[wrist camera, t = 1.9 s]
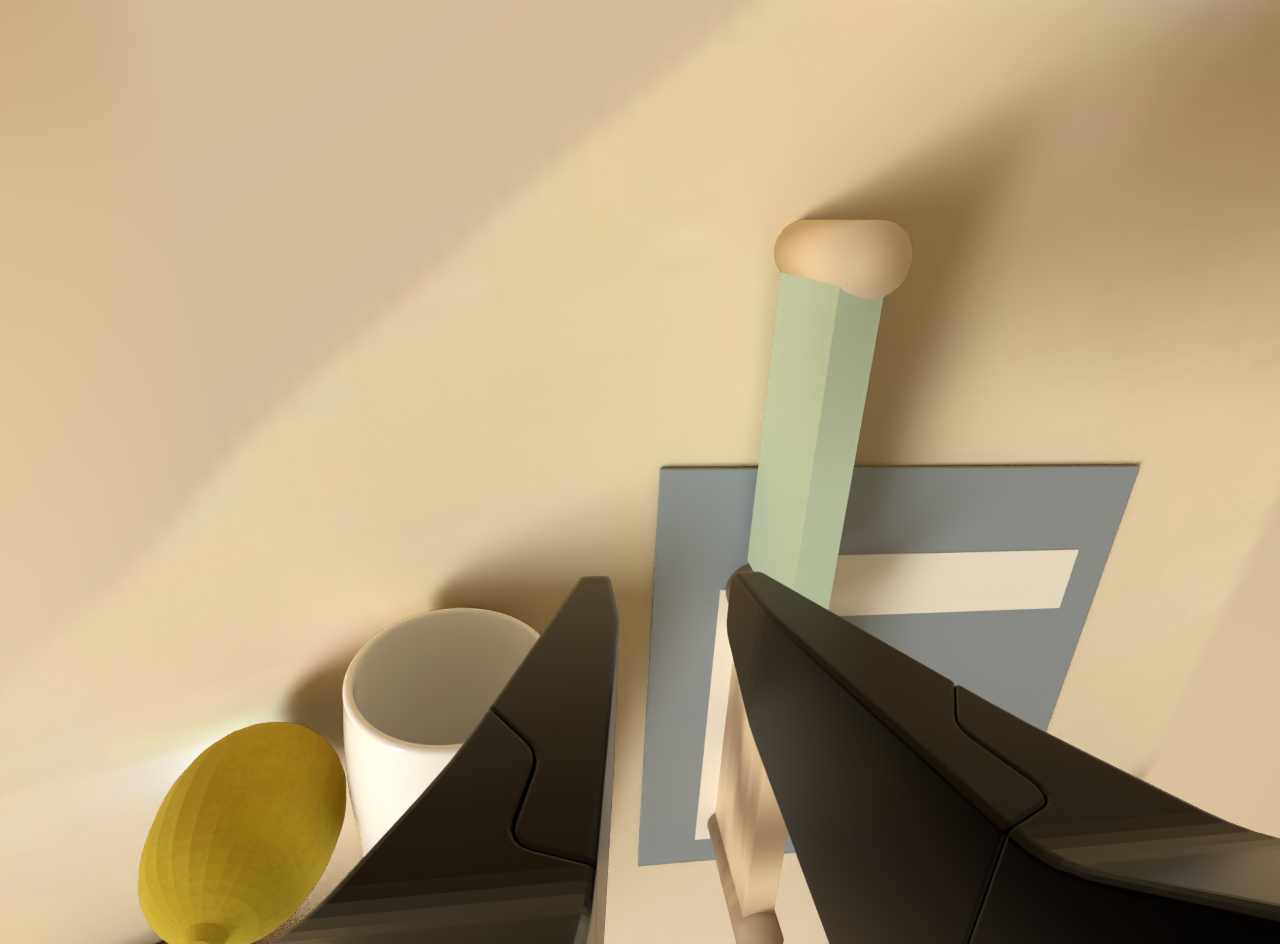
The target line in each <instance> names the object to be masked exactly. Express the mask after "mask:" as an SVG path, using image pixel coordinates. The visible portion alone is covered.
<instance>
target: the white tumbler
mask: <svg viewBox="0 0 1280 944" xmlns="http://www.w3.org/2000/svg"><path fill="white" fill-rule="evenodd" d="M539 636H540V634H539V633H538V632H537V631H535V630H534V629H533V628H532V627H530V626H529V625H527V624H526V623H524V622H522V621H520V620H518V619H516V618H514V617H511V616H509V615H506V614H503V613H500V612H495V611H491V610H485V609H477V608H448V609H440V610H435V611H429V612H425V613H421V614H418V615H415V616H412V617H409V618H406V619H404V620H402V621H399V622H397V623H395V624H393V625H391V626H390V627H388V628H386V629H384V630H383V631H381V632H380V633H378V634H377V635H376V636H374V637H373V638H372V639H371V640H369V641H368V642H367V643H366V644H365V645H364V646H363V647H362V648H361V649H360V650H359V652H358V653H357V654H356V656H355V657H354V658H353V660H352V662H351V663H350V665H349V667H348V670H347V672H346V675H345V678H344V683H343V692H342V697H343V735H344V751H345V762H346V771H347V779H348V787H349V793H350V799H351V804H352V809H353V814H354V818H355V823H356V827H357V831H358V835H359V839H360V844H361V848H362V852H363V856H365V855H366V854H367V853H368V852H369V851H370V850H371V849H372V847H373V846H374V845H375V844H376V843H377V842H378V841H379V840H380V839H381V838H382V837H383V835H384V834H385V833H386V832H387V831H388V830H389V829H390V828H391V827H392V826H393V825H394V823H395V822H396V821H397V820H398V819H399V818H400V817H401V816H402V815H403V814H404V813H405V811H406V810H407V809H408V808H409V807H410V806H411V805H412V804H413V803H414V802H415V801H416V799H417V798H418V797H419V796H420V795H421V794H422V793H423V792H424V790H425V789H426V788H427V787H428V786H429V785H430V783H431V782H432V781H433V780H434V779H435V778H436V777H437V775H438V774H439V773H440V772H441V771H442V770H443V769H444V767H445V766H446V765H447V764H448V763H449V762H450V760H451V759H452V758H453V756H454V755H455V754H456V752H457V751H458V750H459V749H460V747H461V746H462V745H463V743H464V742H465V741H466V739H467V738H468V737H469V735H470V734H471V733H472V731H473V730H474V728H475V727H476V726H477V724H478V723H479V721H480V720H481V718H482V717H483V715H484V714H485V713H486V712H487V711H489V708H490V706H491V705H492V703H493V702H494V700H495V699H496V698H497V696H498V695H499V693H500V692H501V690H502V689H503V688H504V686H505V685H506V683H507V682H508V680H509V679H510V678H511V676H512V675H513V673H514V672H515V670H516V669H517V668H518V666H519V665H520V663H521V662H522V661H523V659H524V658H525V656H526V655H527V653H528V652H529V651H530V649H531V648H532V646H533V645H534V643H535V642H536V641H537V639H538V638H539Z"/></svg>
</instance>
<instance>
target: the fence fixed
mask: <svg viewBox="0 0 1280 944" xmlns="http://www.w3.org/2000/svg"><path fill="white" fill-rule="evenodd" d="M737 572H754V571H753V570H752V568H751V566H750V564H749V563H748V564H746V565H743V566H742V567H740V568H738V569H737V570H736V571H735V572H734V573H733V574H732V575H731V576H730V578H729V580H728V582H727V584H726V589H725V590H726V599H727V601H728V603H729V593H730V584H731V579H732V577H733V575H734V574H735V573H737ZM707 826H708V830H709V835H710V839H711V843H712V847H713V851H714V855H715V859H716V863H717V867H718V871H719V875H720V879H721V883H722V887H723V891H724V895H725V899H726V903H727V907H728V911H729V915H730V919H731V923H732V927H733V931H734V935H735V939H736V943H737V944H783V941H784V939H783V935H782V932H781V929H780V926H779V923H778V919H777V916H776V913H775V910H774V907H775V901H776V896H777V890H778V884H779V879H780V873H781V867H782V861H783V856H784V850H785V844H786V839H787V833H788V831H787V828H786V825H785V822H784V820H783V817H782V814H781V812H780V809H779V806H778V804H777V801H776V798H775V795H774V793H773V790H772V787H771V785H770V782H769V779H768V777H767V774H766V771H765V768H764V766H763V763H762V760H761V758H760V755H759V752H758V750H757V747H756V744H755V741H754V738H753V735H752V732H751V729H750V726H749V722H748V719H747V715H746V711H745V707H744V703H743V698H742V694H741V690H740V686H739V682H738V678H737V673H736V669H735V665H734V661H732V670H731V678H730V687H729V696H728V704H727V713H726V722H725V730H724V739H723V748H722V756H721V765H720V774H719V782H718V791H717V799H716V808H715V813H714V814H712V815H711V817H710V818H709V820H708V823H707Z"/></svg>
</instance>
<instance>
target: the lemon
mask: <svg viewBox="0 0 1280 944" xmlns="http://www.w3.org/2000/svg"><path fill="white" fill-rule="evenodd" d="M345 810H346V777H345V773H344V769H343V767H342V764H341V762H340V759H339V757H338V755H337V753H336V751H335V750H334V749H333V748H332V746H331V745H330V744H329V743H328V742H327V740H326V739H325V738H323V737H322V736H321V735H319V734H318V733H316V732H315V731H313V730H311V729H309V728H306V727H304V726H302V725H298V724H293V723H289V722H268V723H261V724H255V725H252V726H249V727H246V728H243V729H240V730H238V731H235V732H233V733H231V734H229V735H227V736H226V737H224V738H222V739H221V740H219V741H218V742H216V743H214V744H213V745H211V746H210V747H209V748H207V749H206V750H205V751H204V752H203V753H201V754H200V755H199V756H198V757H197V758H196V759H195V760H194V761H193V763H192V764H191V765H190V766H189V767H188V768H187V769H186V770H185V771H184V772H183V773H182V775H181V776H180V777H179V778H178V779H177V781H176V782H175V783H174V785H173V786H172V787H171V789H170V790H169V792H168V794H167V795H166V797H165V799H164V801H163V802H162V804H161V806H160V808H159V811H158V813H157V815H156V817H155V820H154V822H153V824H152V827H151V829H150V831H149V834H148V837H147V839H146V842H145V845H144V849H143V853H142V856H141V862H140V867H139V883H138V895H139V902H140V906H141V908H142V911H143V913H144V915H145V918H146V920H147V922H148V924H149V925H150V927H151V928H152V929H153V930H154V931H155V933H156V934H157V935H158V936H159V937H160V938H161V939H162V940H164V941H165V942H167V943H168V944H251V943H253V942H255V941H257V940H260V939H262V938H264V937H265V936H267V935H268V934H270V933H271V932H273V931H274V930H275V929H277V928H278V927H279V926H281V925H282V924H283V923H285V922H286V921H287V920H288V919H289V918H290V917H291V916H292V915H293V914H294V913H295V912H296V911H297V910H298V908H299V907H300V906H301V905H302V903H303V902H304V901H305V900H306V898H307V897H308V896H309V894H310V893H311V892H312V890H313V889H314V887H315V886H316V884H317V883H318V881H319V879H320V878H321V876H322V874H323V873H324V871H325V869H326V867H327V865H328V863H329V861H330V858H331V856H332V854H333V851H334V848H335V846H336V843H337V840H338V837H339V834H340V831H341V829H342V825H343V821H344V816H345Z"/></svg>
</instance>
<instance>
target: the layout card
mask: <svg viewBox="0 0 1280 944" xmlns="http://www.w3.org/2000/svg"><path fill="white" fill-rule="evenodd" d="M1139 468H1140V467H1139V466H1136V465H1078V466H910V467H854V468H853V474H852V479H851V485H850V491H849V496H848V502H847V508H846V513H845V519H844V525H843V530H842V536H841V541H840V547H839V553H838V558H837V564H836V570H835V575H834V581H833V587H832V592H831V598H830V604H829V609H828V610H829V611H831V612H832V613H834V614H836V615H838V616H839V617H841V618H843V619H845V620H847V621H848V622H850V623H852V624H854V625H855V626H857V627H859V628H861V629H862V630H864V631H866V632H868V633H869V634H871V635H873V636H875V637H876V638H878V639H880V640H882V641H883V642H885V643H887V644H889V645H890V646H892V647H894V648H896V649H897V650H899V651H901V652H903V653H904V654H906V655H908V656H910V657H911V658H913V659H915V660H917V661H918V662H920V663H922V664H924V665H925V666H927V667H929V668H931V669H932V670H934V671H936V672H938V673H939V674H941V675H943V676H945V677H946V678H948V679H950V680H952V681H953V682H954V684H955V686H956V685H961V686H963V687H964V688H966V689H968V690H969V691H971V692H973V693H975V694H976V695H978V696H980V697H982V698H983V699H985V700H987V701H989V702H990V703H992V704H994V705H996V706H998V707H1000V708H1001V709H1003V710H1005V711H1007V712H1009V713H1011V714H1012V715H1014V716H1016V717H1018V718H1020V719H1021V720H1023V721H1025V722H1027V723H1029V724H1031V725H1033V726H1035V727H1037V728H1039V729H1041V730H1043V731H1045V732H1046V730H1047V727H1048V724H1049V721H1050V718H1051V715H1052V713H1053V710H1054V707H1055V704H1056V701H1057V699H1058V696H1059V693H1060V690H1061V687H1062V684H1063V682H1064V679H1065V676H1066V673H1067V670H1068V668H1069V665H1070V662H1071V659H1072V656H1073V654H1074V651H1075V648H1076V645H1077V642H1078V639H1079V637H1080V634H1081V631H1082V628H1083V625H1084V623H1085V620H1086V617H1087V614H1088V611H1089V608H1090V606H1091V603H1092V600H1093V597H1094V594H1095V592H1096V589H1097V586H1098V583H1099V580H1100V577H1101V575H1102V572H1103V569H1104V566H1105V563H1106V561H1107V558H1108V555H1109V552H1110V549H1111V547H1112V544H1113V541H1114V538H1115V535H1116V532H1117V530H1118V527H1119V524H1120V521H1121V518H1122V516H1123V513H1124V510H1125V507H1126V504H1127V501H1128V499H1129V496H1130V493H1131V490H1132V487H1133V485H1134V482H1135V479H1136V476H1137V473H1138V470H1139ZM757 473H758V467H742V468H660V480H659V498H658V515H657V533H656V551H655V568H654V586H653V604H652V621H651V639H650V657H649V674H648V692H647V709H646V727H645V745H644V762H643V780H642V798H641V815H640V833H639V851H638V866H648V865H659V864H670V863H682V862H693V861H705V860H716V859H715V855H714V851H713V847H712V843H711V839H710V835H709V830H708V826H707V823H708V820H709V818H710V817H711V815H712V814H714V813H715V808H716V799H717V791H718V782H719V774H720V765H721V756H722V748H723V739H724V730H725V722H726V713H727V704H728V696H729V687H730V678H731V670H732V661H733V657H732V652H731V648H730V644H729V640H728V635H727V612H728V601H727V599H726V590H725V589H726V584H727V582H728V580H729V578H730V576H731V575H732V574H733V573H734V572H735V571H736V570H737V569H738V568H740V567H742V566H743V565H746V564H748V561H747V558H748V550H749V541H750V533H751V524H752V516H753V507H754V499H755V490H756V482H757ZM785 853H796V852H795V849H794V847H793V844H792V841H791V839H790V836H789V833H787V839H786V844H785V850H784V854H785Z"/></svg>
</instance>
